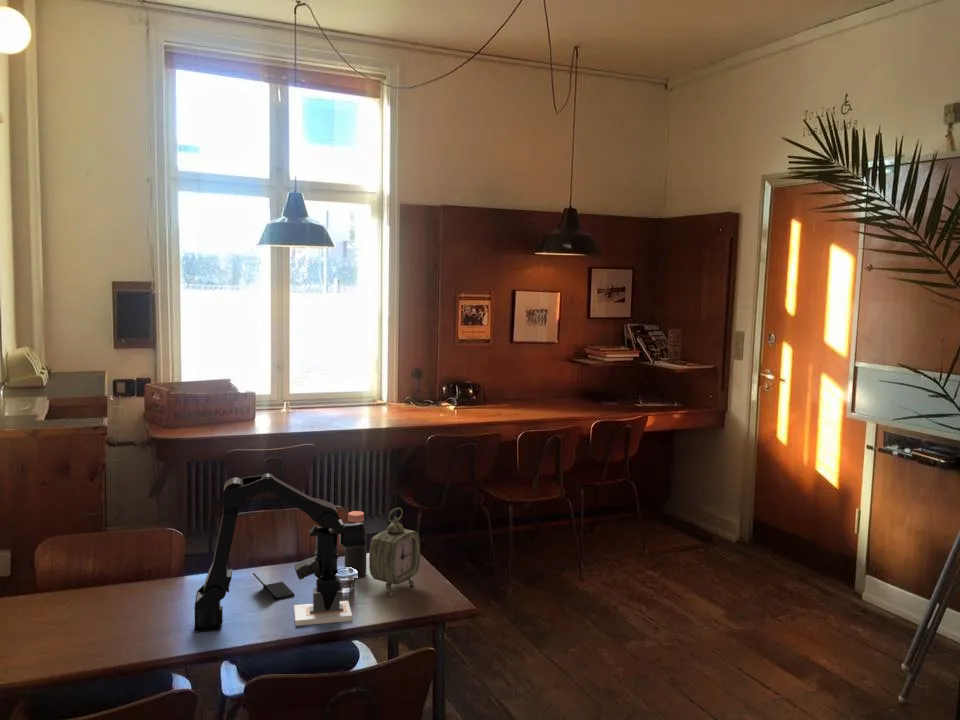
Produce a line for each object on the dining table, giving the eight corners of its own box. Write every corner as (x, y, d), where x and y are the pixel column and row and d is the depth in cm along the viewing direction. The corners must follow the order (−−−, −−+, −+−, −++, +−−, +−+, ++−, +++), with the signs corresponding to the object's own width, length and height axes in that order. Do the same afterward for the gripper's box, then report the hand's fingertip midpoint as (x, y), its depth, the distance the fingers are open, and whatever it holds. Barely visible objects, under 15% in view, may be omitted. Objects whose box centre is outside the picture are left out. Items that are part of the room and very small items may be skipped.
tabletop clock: (391, 600, 225) (392, 516, 222) (366, 593, 229) (367, 511, 227) (419, 584, 237) (421, 504, 235) (395, 577, 242) (396, 499, 239)
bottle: (349, 580, 238) (350, 517, 236) (341, 573, 244) (341, 511, 242) (369, 576, 242) (370, 514, 240) (360, 569, 248) (361, 508, 246)
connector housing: (338, 603, 216) (338, 586, 216) (339, 609, 213) (339, 591, 212) (312, 605, 214) (313, 588, 214) (313, 611, 211) (313, 593, 210)
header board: (295, 625, 207) (295, 608, 206) (294, 610, 216) (294, 593, 216) (351, 620, 211) (352, 603, 210) (348, 605, 220) (348, 589, 220)
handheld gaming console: (300, 589, 227) (279, 567, 223) (284, 609, 223) (262, 587, 219) (282, 582, 236) (261, 561, 232) (266, 602, 232) (245, 580, 228)
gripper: (295, 539, 219) (295, 593, 220) (297, 563, 201) (297, 621, 202) (335, 537, 222) (334, 589, 223) (341, 560, 204) (340, 617, 205)
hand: (326, 604), depth 213 cm, fingers open, 7 cm apart
